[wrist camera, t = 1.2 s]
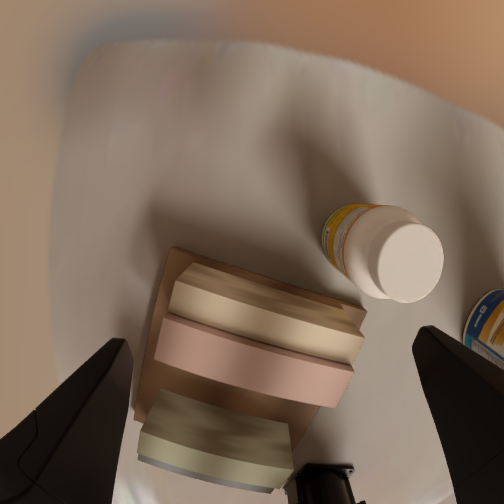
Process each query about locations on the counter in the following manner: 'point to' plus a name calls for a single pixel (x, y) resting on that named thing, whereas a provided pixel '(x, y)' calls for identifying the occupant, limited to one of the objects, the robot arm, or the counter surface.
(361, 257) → the supplement bottle
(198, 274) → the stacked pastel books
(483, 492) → the robot arm
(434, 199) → the counter surface
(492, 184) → the counter surface
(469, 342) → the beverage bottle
